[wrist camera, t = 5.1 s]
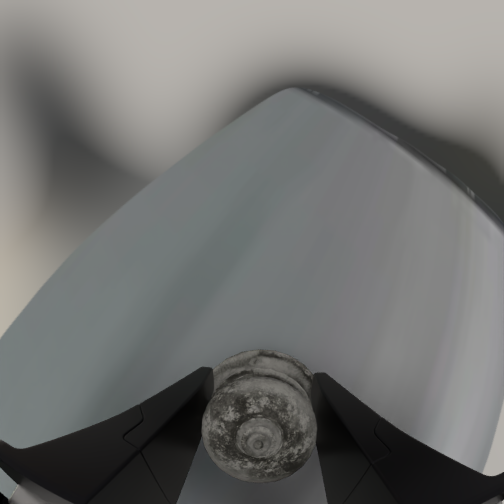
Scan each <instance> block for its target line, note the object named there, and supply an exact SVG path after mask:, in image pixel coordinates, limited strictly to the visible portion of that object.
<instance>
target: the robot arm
mask: <svg viewBox="0 0 504 504" xmlns="http://www.w3.org/2000/svg"><path fill="white" fill-rule="evenodd" d="M213 392H214V376H213V369H212V368H210V367H200V368H199V369H197V370H196V371H194V372H192V373H191V374H189V375H188V376H186V377H184V378H183V379H181V380H179V381H178V382H176V383H174V384H173V385H171V386H169V387H168V388H166V389H164V390H163V391H161V392H159V393H158V394H156V395H154V396H152V397H151V398H149V399H147V400H146V401H144V402H142V403H140V404H139V405H136V406H134V407H132V408H131V409H129V410H127V411H125V412H123V413H121V414H119V415H117V416H114V417H112V418H110V419H107V420H105V421H102V422H100V423H97V424H95V425H92V426H90V427H87V428H84V429H82V430H79V431H76V432H74V433H71V434H68V435H65V436H62V437H59V438H57V439H54V440H51V441H48V442H44V443H41V444H38V445H35V446H32V447H28V448H24V449H17V448H14V447H12V446H10V445H9V444H7V443H6V442H4V441H2V440H0V467H1V468H2V470H3V471H4V472H5V473H6V474H7V475H8V476H9V477H10V478H12V479H13V480H14V481H15V482H16V483H17V484H18V485H17V486H16V488H15V490H14V491H13V493H12V495H11V497H10V498H9V499H8V498H7V497H5V496H4V495H3V494H2V493H1V492H0V504H176V503H177V500H178V498H179V495H180V493H181V490H182V487H183V485H184V482H185V480H186V477H187V474H188V472H189V469H190V466H191V464H192V461H193V458H194V456H195V453H196V450H197V448H198V445H199V442H200V440H201V437H202V431H201V430H202V419H203V415H204V412H205V410H206V407H207V405H208V403H209V401H210V399H211V396H212V394H213ZM311 403H312V408H313V412H314V414H315V418H316V423H317V437H316V446H317V451H318V455H319V460H320V466H321V471H322V476H323V481H324V486H325V491H326V496H327V502H328V504H502V501H503V500H504V472H503V473H501V474H499V475H496V476H486V475H483V474H481V473H479V472H477V471H475V470H473V469H471V468H469V467H467V466H465V465H463V464H461V463H459V462H457V461H455V460H453V459H451V458H449V457H447V456H445V455H444V454H442V453H440V452H438V451H436V450H434V449H432V448H431V447H429V446H427V445H425V444H423V443H422V442H420V441H418V440H416V439H414V438H413V437H411V436H409V435H408V434H406V433H404V432H403V431H401V430H399V429H398V428H396V427H395V426H394V425H392V424H391V423H389V422H388V421H387V420H385V419H384V418H383V417H381V416H380V415H378V414H377V413H376V412H374V411H373V410H372V409H370V408H369V407H368V406H367V405H365V404H364V403H363V402H361V401H360V400H359V399H358V398H356V397H355V396H354V395H353V394H351V393H350V392H349V391H348V390H346V389H345V388H344V387H342V386H341V385H340V384H339V383H337V382H336V381H335V380H334V379H333V378H331V377H330V376H329V375H328V374H326V373H315V374H314V376H313V381H312V386H311Z"/></svg>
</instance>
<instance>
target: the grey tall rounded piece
mask: <svg viewBox="0 0 504 504" xmlns="http://www.w3.org/2000/svg"><path fill="white" fill-rule="evenodd" d="M213 376H214V392H213V394H212V396H211V399H210V401H209V403H208V405H207V407H206V410H205V412H204V415H203V419H202V430H201V431H202V437H203V442H204V446H205V448H206V450H207V452H208V454H209V456H210V458H211V459H212V460H213V461H214V462H215V464H216V465H217V466H218V467H219V468H220V469H221V470H223V471H224V472H226V473H227V474H229V475H230V476H232V477H234V478H237V479H240V480H243V481H246V482H253V483H267V482H274V481H278V480H281V479H283V478H286V477H288V476H290V475H292V474H293V473H294V472H296V471H297V470H298V469H300V468H301V467H302V466H303V465H304V463H305V462H306V461H307V460H308V458H309V457H310V456H311V453H312V451H313V448H314V446H315V443H316V437H317V423H316V418H315V414H314V412H313V408H312V403H311V386H312V381H313V376H314V375H313V374H312V373H311V372H310V371H309V370H308V369H307V367H306V366H305V365H304V364H302V363H301V362H299V361H297V360H296V359H294V358H293V357H291V356H289V355H286V354H283V353H280V352H277V351H271V350H259V349H258V350H252V351H246V352H241V353H239V354H237V355H234V356H232V357H230V358H227V359H226V360H225V361H223V362H222V363H221V364H219V365H218V366H217V367H215V368H214V369H213Z"/></svg>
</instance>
